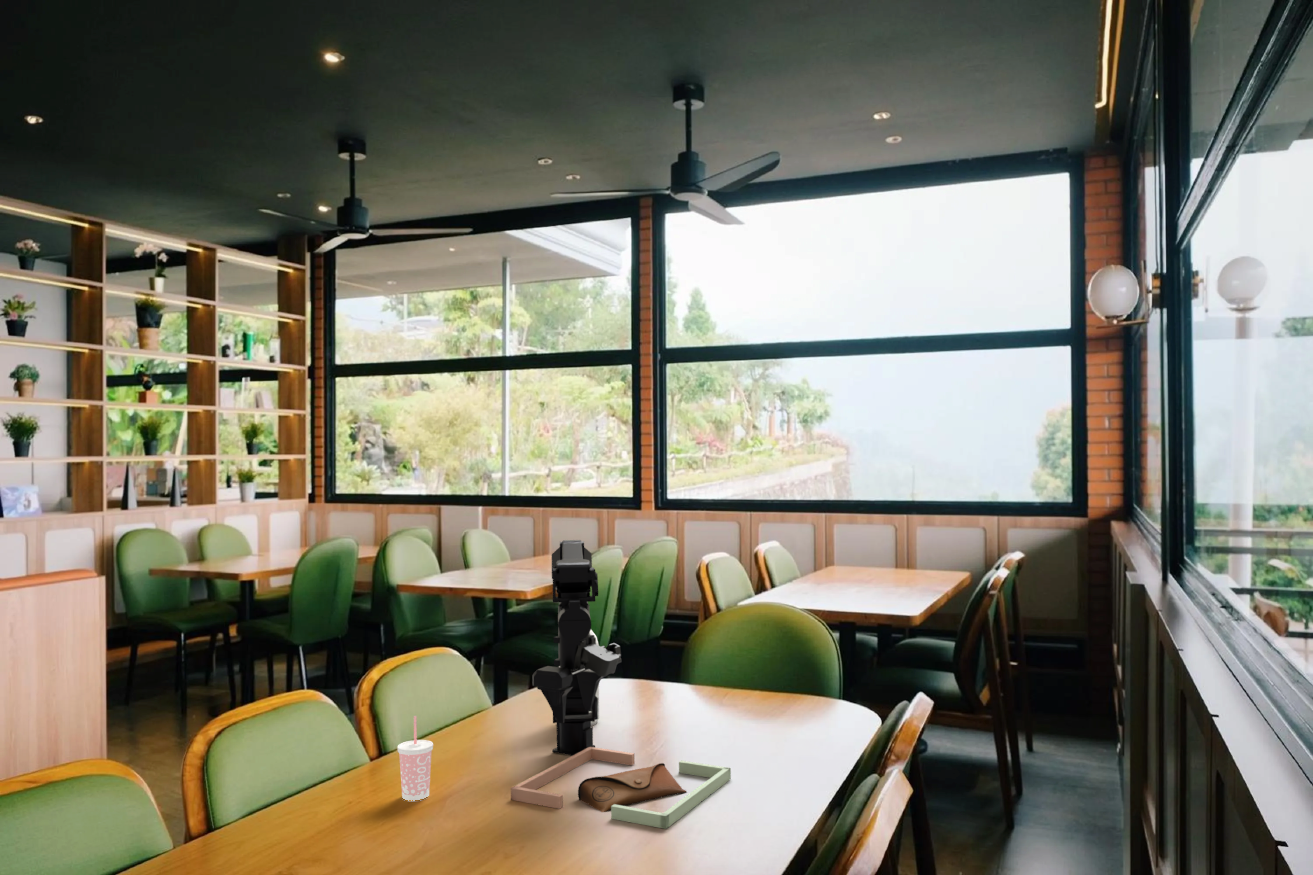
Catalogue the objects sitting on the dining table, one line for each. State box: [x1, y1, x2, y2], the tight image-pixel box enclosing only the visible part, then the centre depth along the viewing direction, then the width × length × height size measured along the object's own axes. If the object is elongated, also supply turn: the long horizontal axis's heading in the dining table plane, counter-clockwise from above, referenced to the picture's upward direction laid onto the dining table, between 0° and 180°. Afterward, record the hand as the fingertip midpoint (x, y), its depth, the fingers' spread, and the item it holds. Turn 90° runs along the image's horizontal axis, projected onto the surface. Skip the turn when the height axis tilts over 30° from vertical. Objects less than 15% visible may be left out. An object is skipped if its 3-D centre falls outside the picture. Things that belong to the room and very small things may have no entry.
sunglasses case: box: [577, 762, 687, 813], centre depth 166 cm, size 18×7×7 cm
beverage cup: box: [397, 715, 434, 802], centre depth 167 cm, size 6×6×14 cm
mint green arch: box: [610, 760, 732, 830], centre depth 164 cm, size 10×26×2 cm, turn 152°
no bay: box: [510, 746, 636, 810], centre depth 174 cm, size 10×26×2 cm, turn 153°
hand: (574, 716), depth 174 cm, fingers open, 9 cm apart
